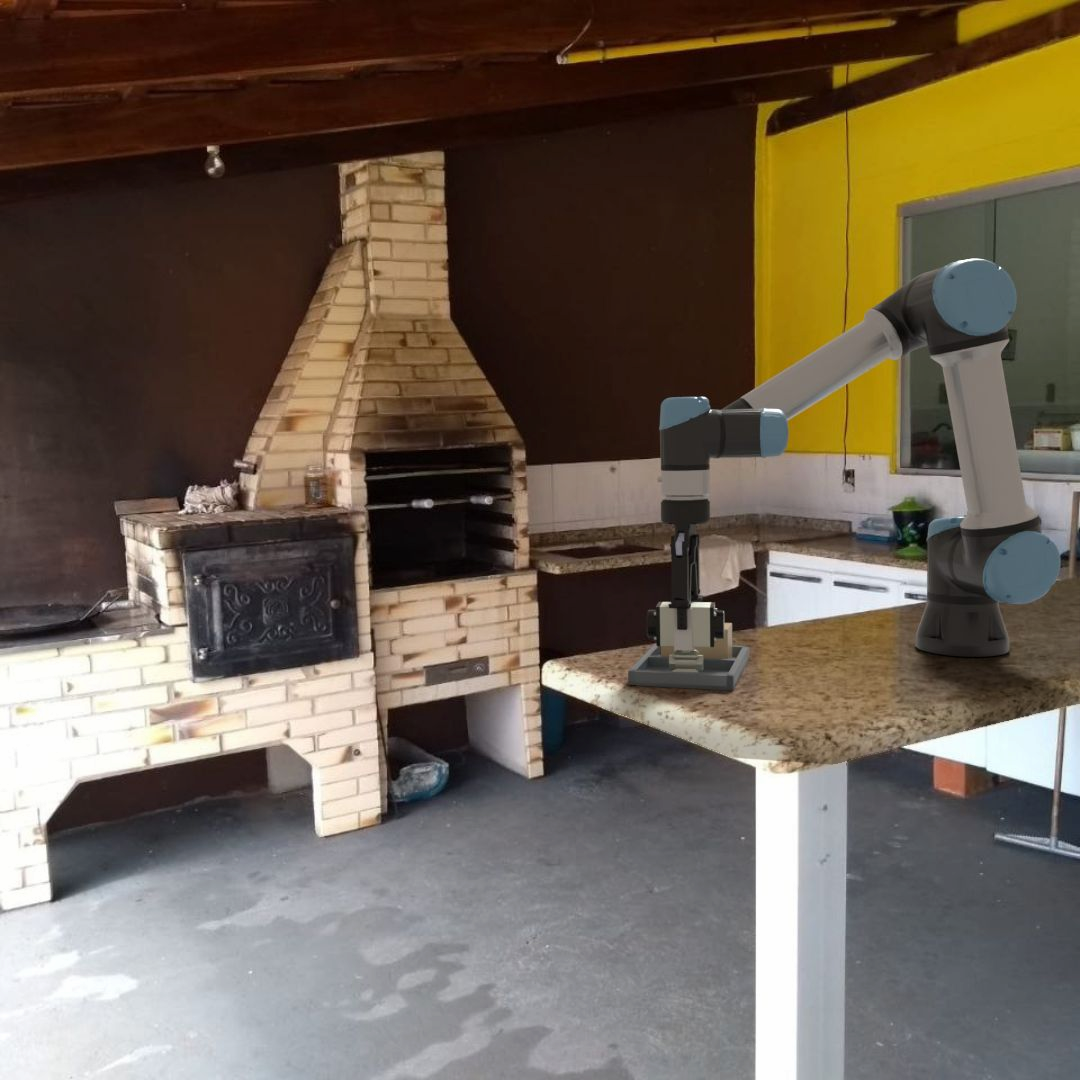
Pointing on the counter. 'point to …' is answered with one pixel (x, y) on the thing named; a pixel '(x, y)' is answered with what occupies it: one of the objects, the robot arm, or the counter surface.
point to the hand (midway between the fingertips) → (686, 645)
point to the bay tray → (717, 673)
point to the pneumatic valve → (703, 633)
